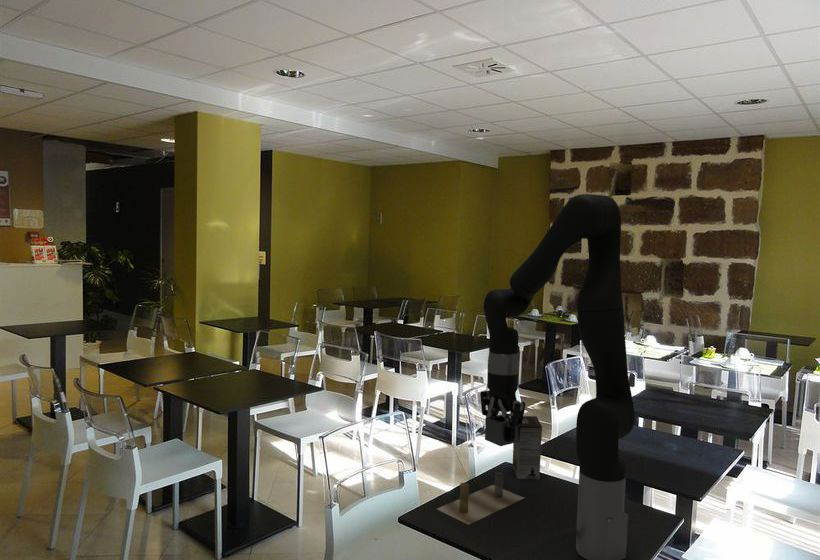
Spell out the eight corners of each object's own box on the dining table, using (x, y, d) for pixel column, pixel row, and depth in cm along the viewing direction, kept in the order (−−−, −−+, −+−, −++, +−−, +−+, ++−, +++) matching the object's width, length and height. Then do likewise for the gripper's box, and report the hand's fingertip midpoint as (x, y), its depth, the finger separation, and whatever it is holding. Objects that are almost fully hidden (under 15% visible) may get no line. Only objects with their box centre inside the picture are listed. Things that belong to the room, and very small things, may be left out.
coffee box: (511, 470, 167) (513, 415, 166) (534, 471, 167) (536, 415, 166) (516, 484, 158) (518, 425, 157) (540, 485, 158) (543, 426, 157)
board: (492, 490, 154) (493, 460, 153) (524, 503, 147) (525, 472, 146) (436, 515, 140) (437, 482, 139) (468, 531, 132) (469, 496, 132)
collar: (517, 442, 146) (517, 420, 145) (500, 446, 142) (501, 423, 142) (501, 435, 150) (502, 414, 150) (484, 439, 147) (485, 417, 147)
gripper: (535, 374, 141) (533, 443, 142) (494, 363, 153) (492, 427, 154) (512, 378, 137) (510, 449, 138) (472, 366, 149) (470, 432, 150)
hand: (500, 437), depth 146 cm, fingers closed on collar, 5 cm apart
